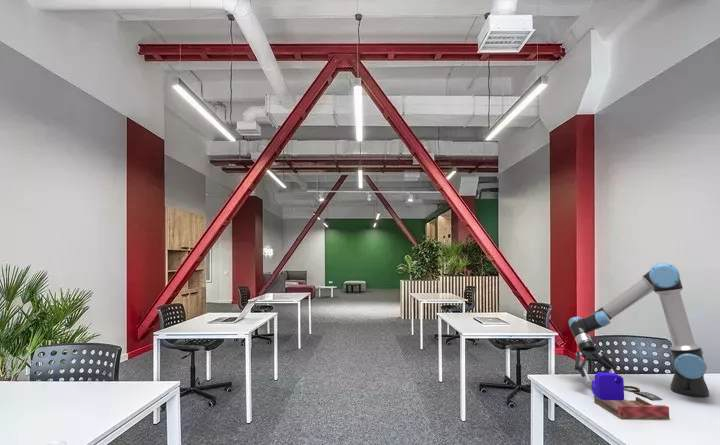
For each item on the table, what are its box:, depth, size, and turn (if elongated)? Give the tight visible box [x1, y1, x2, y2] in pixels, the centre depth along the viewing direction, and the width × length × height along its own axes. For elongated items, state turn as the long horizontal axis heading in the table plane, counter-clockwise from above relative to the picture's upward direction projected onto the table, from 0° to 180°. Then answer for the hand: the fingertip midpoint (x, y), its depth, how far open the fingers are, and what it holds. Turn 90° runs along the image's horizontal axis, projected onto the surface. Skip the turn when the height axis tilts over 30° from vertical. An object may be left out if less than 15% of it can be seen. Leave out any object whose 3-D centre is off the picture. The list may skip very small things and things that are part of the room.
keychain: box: [624, 385, 663, 401], centre depth 209 cm, size 8×19×2 cm, turn 9°
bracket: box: [591, 371, 625, 400], centre depth 207 cm, size 18×11×12 cm, turn 175°
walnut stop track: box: [593, 396, 670, 421], centre depth 186 cm, size 20×20×5 cm
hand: (602, 382), depth 206 cm, fingers open, 13 cm apart
